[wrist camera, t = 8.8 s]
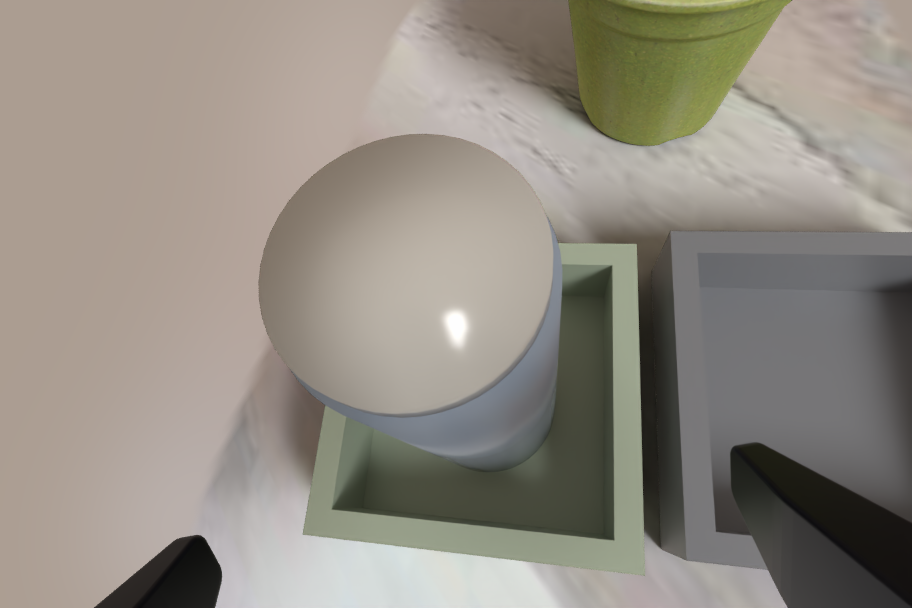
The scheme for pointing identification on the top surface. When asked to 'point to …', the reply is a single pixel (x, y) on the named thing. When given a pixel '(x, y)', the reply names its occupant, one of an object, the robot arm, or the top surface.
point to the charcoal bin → (779, 372)
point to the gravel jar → (421, 298)
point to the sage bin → (534, 481)
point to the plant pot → (662, 61)
